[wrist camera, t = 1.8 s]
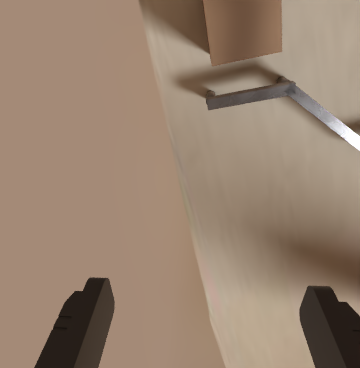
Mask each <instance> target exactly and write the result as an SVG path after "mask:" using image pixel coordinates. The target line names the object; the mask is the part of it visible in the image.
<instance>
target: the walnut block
mask: <svg viewBox="0 0 360 368" xmlns="http://www.w3.org/2000/svg"><path fill="white" fill-rule="evenodd" d="M203 8H204V15H205V22H206V29H207V37H208V44H209V51H210V58H211V63H212V66H216V65H221V64H226V63H230V62H235V61H240V60H244V59H249V58H254V57H259V56H263V55H268V54H273V53H278V52H282V8H281V0H203Z"/></svg>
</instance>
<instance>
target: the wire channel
mask: <svg viewBox="0 0 360 368" xmlns="http://www.w3.org/2000/svg"><path fill="white" fill-rule="evenodd" d="M283 96H290V97H291V98H292V99H294V100H295V101H296V102H298V103H299V104H300V105H301V106H303V107H304V108H305V109H307V110H308V111H309V112H310V113H312V114H313V115H314V116H316V117H317V118H318V119H319V120H321V121H322V122H323V123H325V124H326V125H327V126H328V127H330V128H331V129H332V130H334V131H335V132H336V133H337V134H339V135H340V136H341V137H343V138H344V139H345V140H346V141H348V142H349V143H350V144H351V145H353V146H354V147H355V148H357V149H358V150H359V151H360V136H358V135H357V134H356V133H355V132H353V131H352V130H351V129H350V128H348V127H347V126H346V125H345V124H343V123H342V122H341V121H340V120H338V119H337V118H336V117H335V116H333V115H332V114H331V113H330V112H328V111H327V110H326V109H325V108H323V107H322V106H321V105H320V104H318V103H317V102H316V101H315V100H313V99H312V98H311V97H310V96H308V95H307V94H306V93H305V92H303V91H302V90H301V89H300V88H298V87H297V86H296V83H295V82H293V81H289V80H288V79H286V78H285V77H280V78H278V80H277V84H274V85H269V86H264V87H258V88H253V89H248V90H243V91H238V92H232V93H227V94H222V95H217V96H216V95H215V92H213V91H208V92H207V94H206V103H207V105H208V110H213V109H218V108H224V107H229V106H234V105H240V104H245V103H251V102H256V101H262V100H267V99H273V98H278V97H283Z"/></svg>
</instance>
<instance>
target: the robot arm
mask: <svg viewBox="0 0 360 368" xmlns="http://www.w3.org/2000/svg"><path fill="white" fill-rule="evenodd" d="M113 313H114V297H113V293H112V289H111V285H110V281H109V279H108V278H89V279H88V280H87V282H86V285H85V287H84V289H83V291H75V292H74V293H73V294H72V295H71V296H70V297H69V299H67V301H66V302H65V303H64V305H63V308H62V309H61V312H60V314H59V317H58V319H57V320H56V322H55V324H54V327H53V330H52V331H51V333H50V335H49V338H48V340H47V342H46V344H45V346H44V348H43V350H42V352H41V355H40V357H39V359H38V361H37V363H36V365H35V367H34V368H98V367H99V363H100V360H101V356H102V352H103V349H104V345H105V342H106V338H107V335H108V331H109V328H110V324H111V321H112V317H113ZM299 314H300V322H301V325H302V328H303V332H304V335H305V338H306V341H307V344H308V347H309V350H310V353H311V356H312V359H313V362H314V365H315V368H360V316H359V315H358V314H357V313H356V312H355V311H354V310H353V309H352V308H351V306H350V305H349V304H348V303H347V302H339V301H338V299H337V297H336V295H335V293H334V291H333V290H332V288H331V287H329V286H308V287H307V290H306V292H305V295H304V298H303V301H302V303H301V306H300V312H299Z"/></svg>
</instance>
